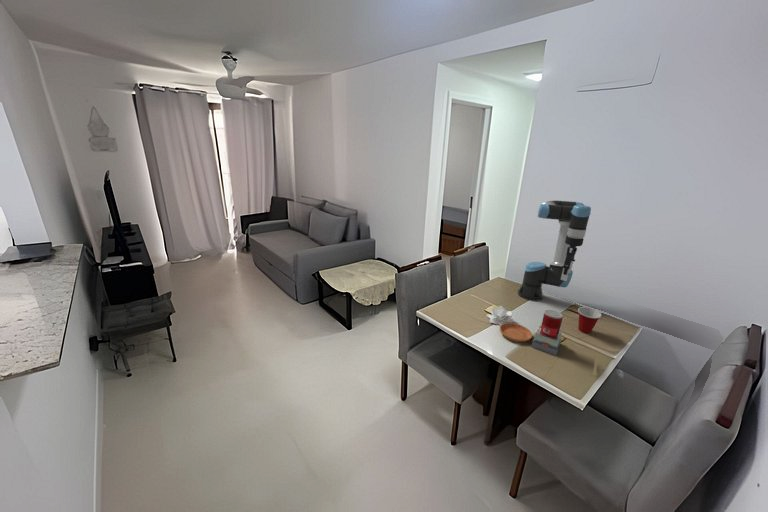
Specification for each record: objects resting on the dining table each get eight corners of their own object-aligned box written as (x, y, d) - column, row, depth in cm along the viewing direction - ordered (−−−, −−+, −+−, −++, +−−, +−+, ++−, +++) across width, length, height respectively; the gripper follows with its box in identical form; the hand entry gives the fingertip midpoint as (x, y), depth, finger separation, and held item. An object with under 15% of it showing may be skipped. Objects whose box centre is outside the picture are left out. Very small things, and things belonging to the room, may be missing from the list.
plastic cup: (570, 330, 166) (575, 311, 162) (575, 323, 174) (580, 304, 170) (594, 338, 159) (599, 318, 156) (597, 330, 167) (603, 311, 163)
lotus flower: (488, 325, 169) (490, 312, 166) (484, 312, 183) (486, 299, 180) (515, 328, 167) (518, 314, 164) (509, 315, 181) (511, 302, 178)
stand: (537, 335, 161) (539, 324, 158) (560, 343, 154) (563, 331, 152) (531, 346, 151) (534, 334, 148) (556, 355, 144) (559, 343, 142)
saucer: (537, 343, 154) (539, 338, 153) (509, 345, 152) (510, 340, 151) (519, 326, 169) (520, 321, 168) (493, 328, 167) (494, 323, 166)
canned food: (560, 338, 146) (565, 318, 143) (542, 336, 148) (547, 316, 144) (555, 330, 153) (559, 310, 150) (538, 327, 155) (542, 308, 151)
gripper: (569, 231, 162) (561, 268, 169) (562, 240, 143) (553, 281, 150) (586, 233, 158) (576, 271, 164) (581, 243, 139) (570, 285, 145)
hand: (565, 276), depth 157 cm, fingers open, 13 cm apart
